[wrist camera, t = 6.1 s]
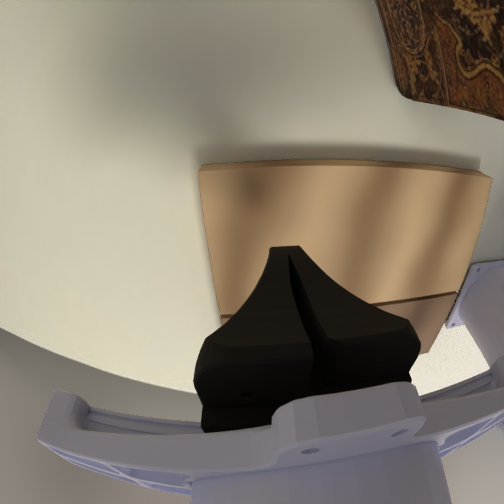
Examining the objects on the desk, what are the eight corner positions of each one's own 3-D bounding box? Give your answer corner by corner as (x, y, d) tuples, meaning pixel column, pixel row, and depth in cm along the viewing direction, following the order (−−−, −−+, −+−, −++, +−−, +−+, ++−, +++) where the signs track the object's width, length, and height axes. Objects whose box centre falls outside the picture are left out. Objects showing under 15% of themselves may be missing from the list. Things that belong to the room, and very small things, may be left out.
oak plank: (479, 171, 15) (492, 178, 14) (450, 280, 20) (459, 290, 19) (202, 165, 15) (197, 172, 14) (221, 300, 20) (219, 314, 19)
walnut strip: (449, 282, 20) (457, 293, 19) (422, 341, 24) (427, 352, 23) (222, 303, 21) (220, 318, 19) (233, 364, 25) (232, 378, 24)
